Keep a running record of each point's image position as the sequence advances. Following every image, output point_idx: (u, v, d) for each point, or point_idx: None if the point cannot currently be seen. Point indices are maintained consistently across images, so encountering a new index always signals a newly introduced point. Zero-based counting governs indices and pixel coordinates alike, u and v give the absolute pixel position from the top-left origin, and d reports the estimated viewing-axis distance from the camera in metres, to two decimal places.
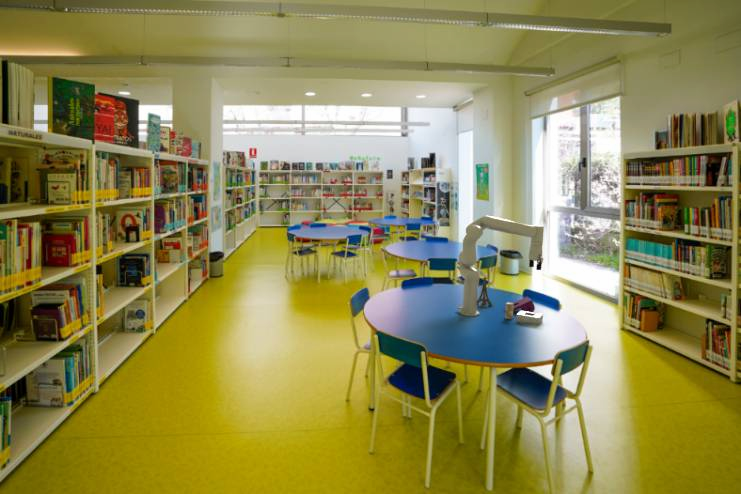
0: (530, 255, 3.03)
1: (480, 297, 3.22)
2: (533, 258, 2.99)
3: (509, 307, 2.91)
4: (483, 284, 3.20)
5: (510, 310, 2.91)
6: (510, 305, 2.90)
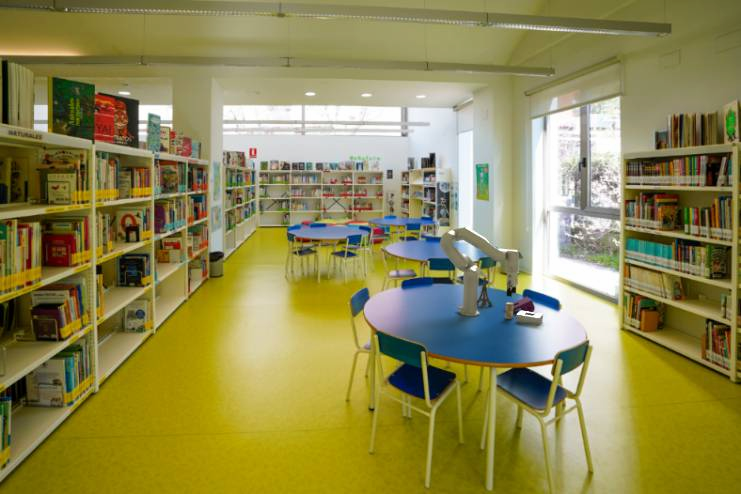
0: (515, 282, 2.87)
1: (480, 297, 3.22)
2: (516, 283, 2.90)
3: (509, 307, 2.91)
4: (483, 284, 3.20)
5: (510, 310, 2.91)
6: (510, 305, 2.90)
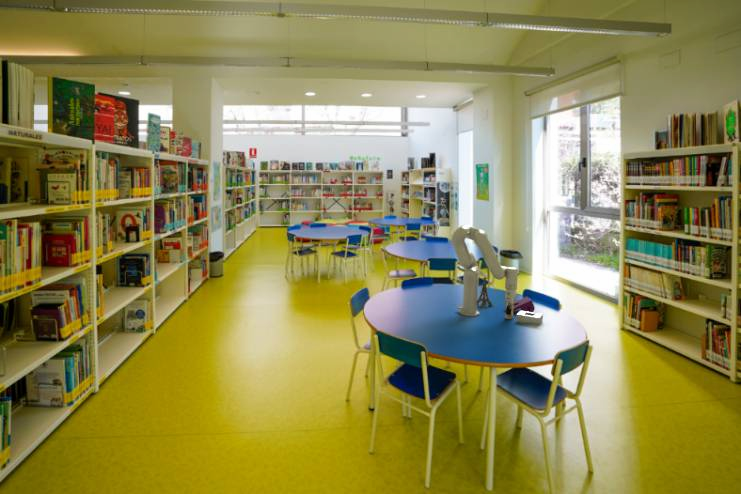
0: (513, 300, 2.89)
1: (480, 297, 3.22)
2: (515, 300, 2.92)
3: None
4: (483, 284, 3.20)
5: None
6: None
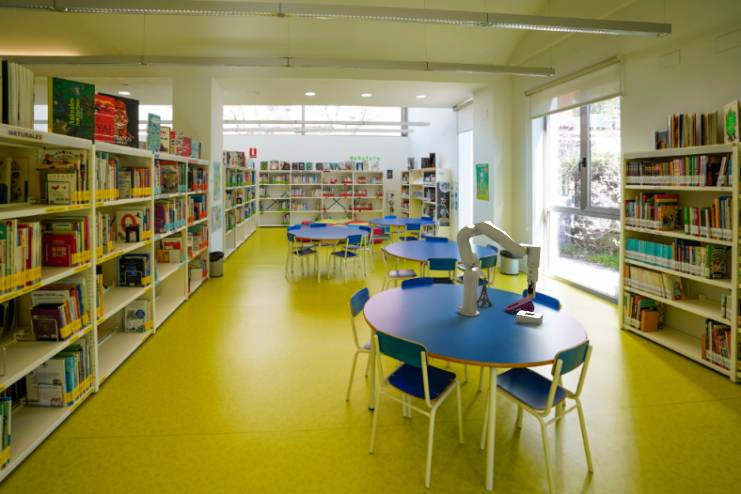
0: (535, 279, 2.79)
1: (480, 297, 3.22)
2: (537, 279, 2.83)
3: None
4: (483, 284, 3.20)
5: None
6: None
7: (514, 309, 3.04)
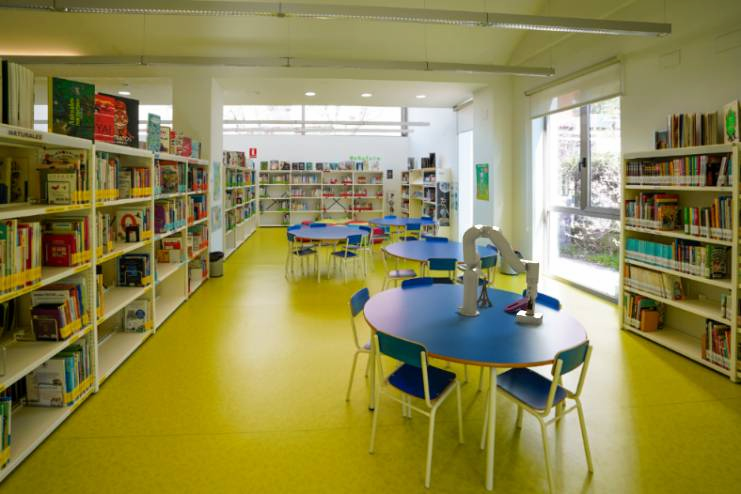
0: (535, 294, 2.81)
1: (480, 297, 3.22)
2: (536, 295, 2.84)
3: None
4: (483, 284, 3.20)
5: None
6: (532, 300, 2.82)
7: (514, 309, 3.04)
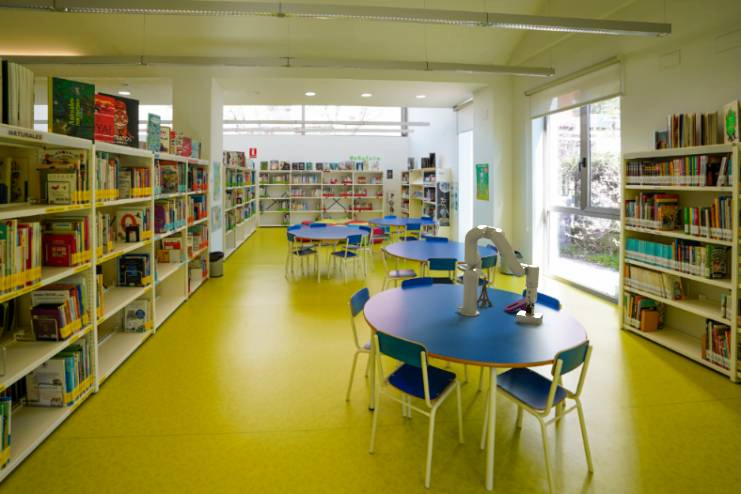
0: (534, 299, 2.81)
1: (480, 297, 3.22)
2: (536, 299, 2.85)
3: None
4: (483, 284, 3.20)
5: (531, 313, 2.84)
6: (531, 308, 2.83)
7: (514, 309, 3.04)
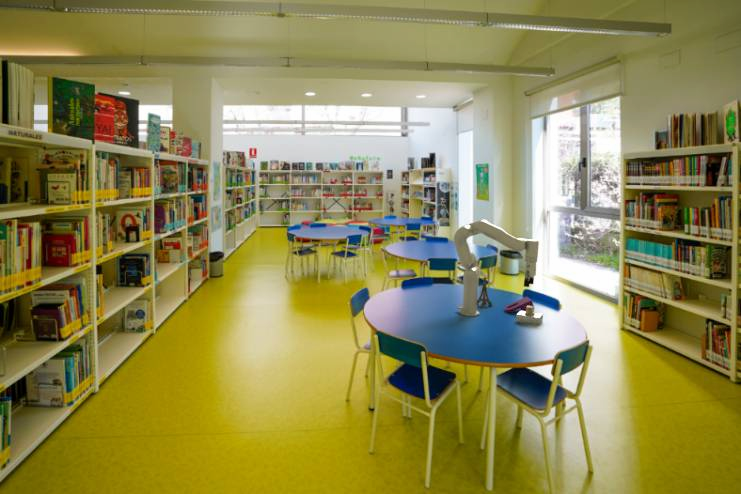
0: (533, 273, 2.81)
1: (480, 297, 3.22)
2: (534, 274, 2.85)
3: (529, 310, 2.84)
4: (483, 284, 3.20)
5: (531, 313, 2.84)
6: (531, 308, 2.83)
7: (514, 309, 3.04)
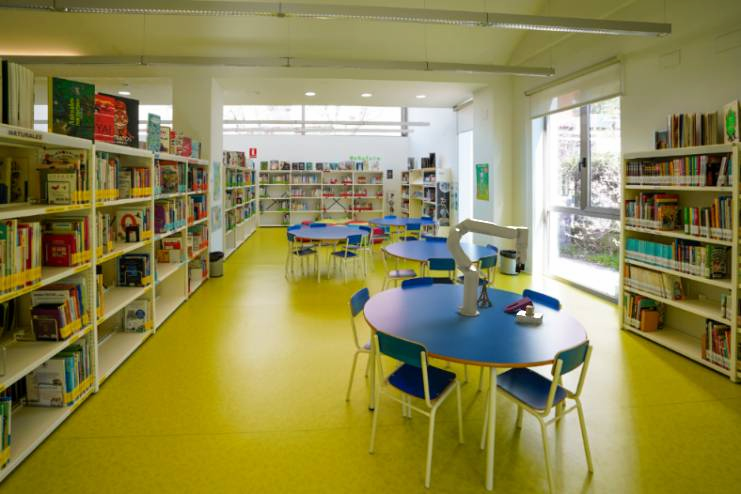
0: (524, 259, 2.90)
1: (480, 297, 3.22)
2: (525, 260, 2.93)
3: (529, 310, 2.84)
4: (483, 284, 3.20)
5: (531, 313, 2.84)
6: (531, 308, 2.83)
7: (514, 309, 3.03)
